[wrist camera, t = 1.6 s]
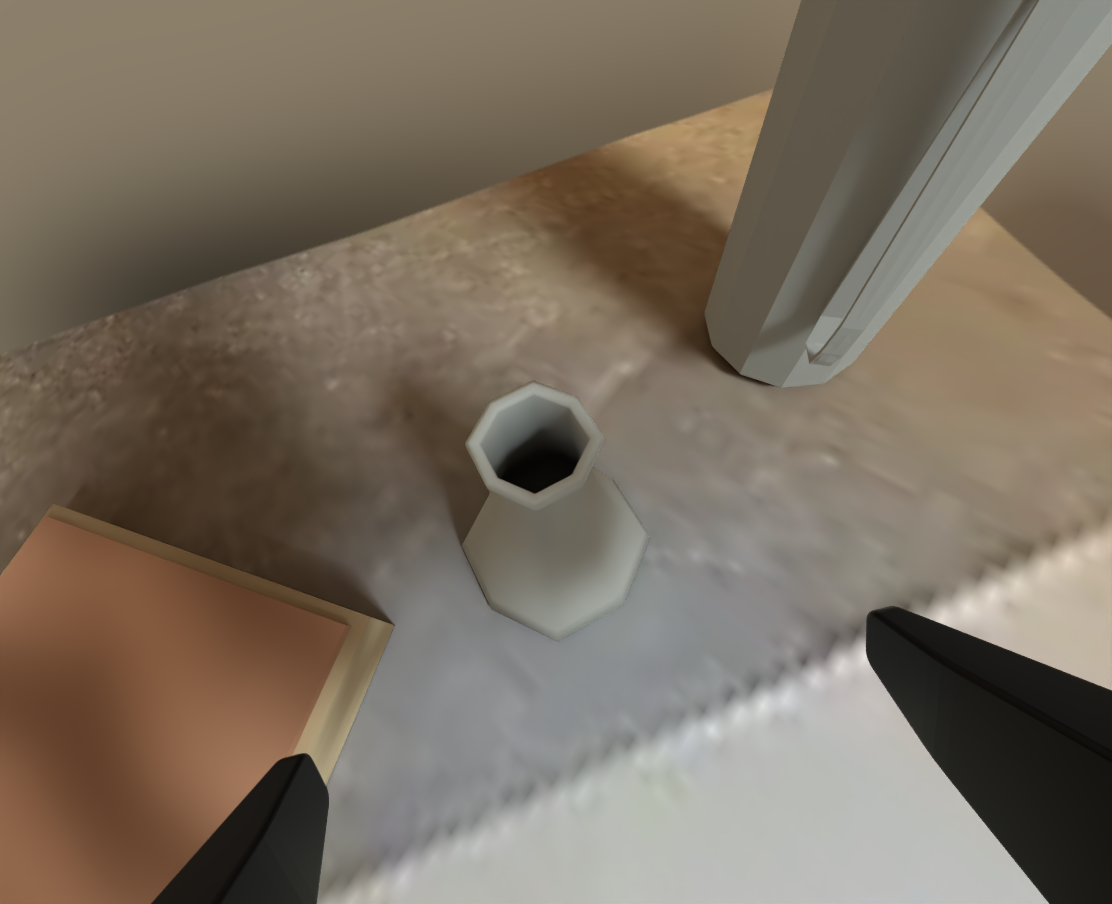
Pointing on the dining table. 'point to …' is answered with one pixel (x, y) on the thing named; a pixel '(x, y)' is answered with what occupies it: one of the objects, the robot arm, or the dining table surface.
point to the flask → (549, 515)
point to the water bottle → (882, 164)
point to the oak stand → (152, 704)
